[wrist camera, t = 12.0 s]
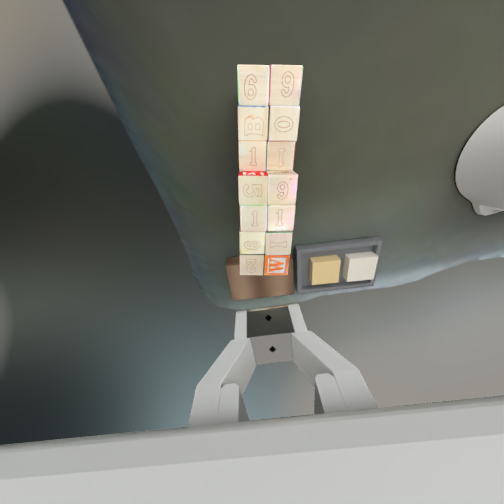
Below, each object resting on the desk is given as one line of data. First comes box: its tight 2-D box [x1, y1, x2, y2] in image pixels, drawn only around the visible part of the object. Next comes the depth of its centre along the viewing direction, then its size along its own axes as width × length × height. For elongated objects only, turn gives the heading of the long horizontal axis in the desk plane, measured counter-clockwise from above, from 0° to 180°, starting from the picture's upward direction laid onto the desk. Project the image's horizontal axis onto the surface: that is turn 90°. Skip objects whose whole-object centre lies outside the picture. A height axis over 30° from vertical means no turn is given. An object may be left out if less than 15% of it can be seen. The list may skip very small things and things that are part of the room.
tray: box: [295, 236, 383, 293], centre depth 38 cm, size 15×10×2 cm, turn 97°
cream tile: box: [342, 251, 378, 282], centre depth 37 cm, size 5×5×2 cm
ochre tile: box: [309, 255, 341, 285], centre depth 38 cm, size 5×5×2 cm
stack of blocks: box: [237, 65, 303, 275], centre depth 26 cm, size 21×6×12 cm, turn 179°
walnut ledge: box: [225, 253, 294, 300], centre depth 38 cm, size 12×8×3 cm, turn 97°
